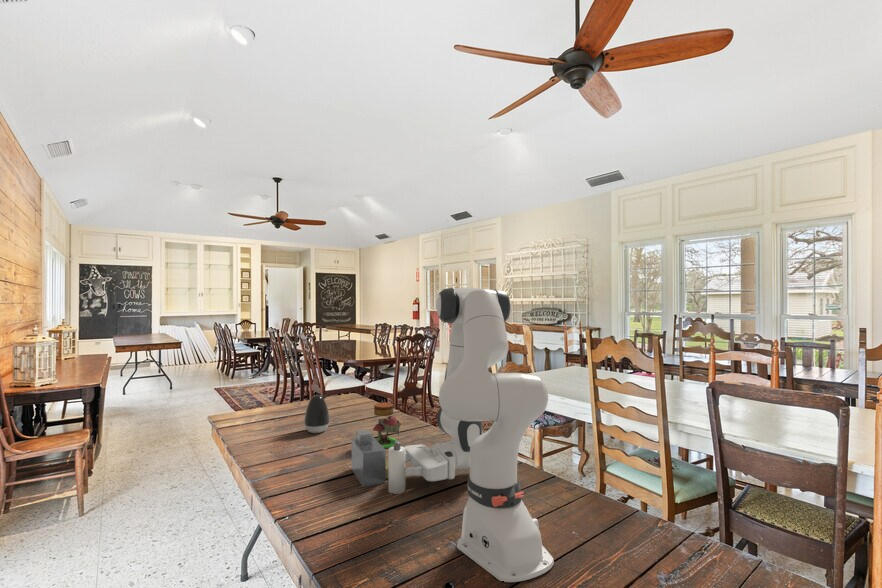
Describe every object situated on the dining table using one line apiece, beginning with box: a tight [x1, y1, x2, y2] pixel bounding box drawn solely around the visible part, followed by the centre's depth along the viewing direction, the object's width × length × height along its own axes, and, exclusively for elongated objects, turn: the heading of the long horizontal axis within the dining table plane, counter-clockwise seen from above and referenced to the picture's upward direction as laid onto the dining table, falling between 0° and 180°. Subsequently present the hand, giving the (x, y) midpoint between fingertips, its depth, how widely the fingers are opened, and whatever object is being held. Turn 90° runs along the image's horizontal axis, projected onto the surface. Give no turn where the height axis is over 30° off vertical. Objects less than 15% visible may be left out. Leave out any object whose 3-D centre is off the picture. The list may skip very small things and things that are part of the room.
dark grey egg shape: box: [303, 394, 331, 434], centre depth 176 cm, size 10×10×15 cm
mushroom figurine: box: [372, 401, 402, 449], centre depth 162 cm, size 12×13×15 cm
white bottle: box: [387, 440, 407, 495], centre depth 124 cm, size 5×5×14 cm
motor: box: [351, 428, 388, 488], centre depth 136 cm, size 16×13×13 cm
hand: (399, 465), depth 124 cm, fingers open, 8 cm apart
